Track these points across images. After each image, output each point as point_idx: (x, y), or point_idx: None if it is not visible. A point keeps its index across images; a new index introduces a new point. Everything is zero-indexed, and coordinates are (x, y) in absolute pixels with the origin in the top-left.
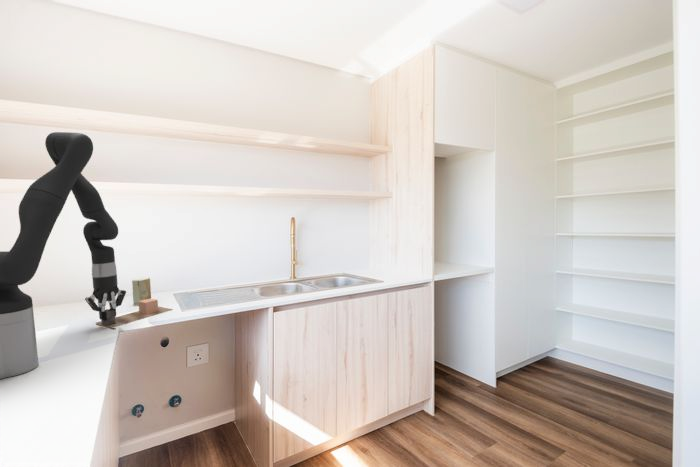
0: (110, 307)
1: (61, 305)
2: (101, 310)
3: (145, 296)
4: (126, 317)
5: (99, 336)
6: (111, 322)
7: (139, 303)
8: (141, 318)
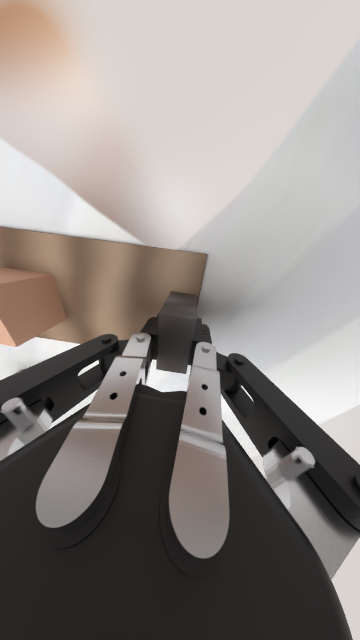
0: (151, 358)
1: None
2: (215, 350)
3: None
4: (113, 318)
5: (289, 223)
6: (185, 296)
7: (24, 335)
8: (82, 246)
